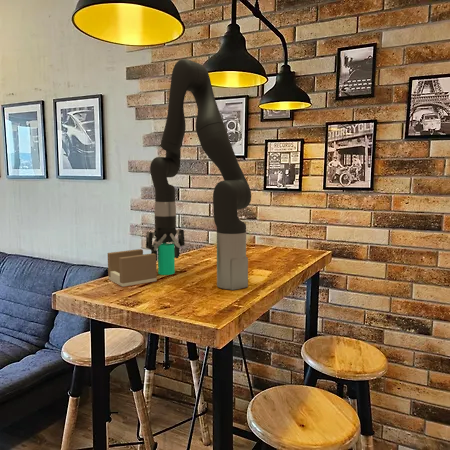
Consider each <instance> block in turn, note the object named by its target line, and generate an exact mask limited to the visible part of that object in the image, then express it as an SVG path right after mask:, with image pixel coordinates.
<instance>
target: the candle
mask: <svg viewBox="0 0 450 450" xmlns="http://www.w3.org/2000/svg"><path fill="white" fill-rule="evenodd" d="M174 247H175V246H174V244H173V243H171V242H170V243H168V242H166V243H161V245H160V246H159V247H158V248H157V275H161V276H169V275H174V274H176V273H175V272H176V270H175V263H176V262H175V259H176V258H175V257H174Z"/></svg>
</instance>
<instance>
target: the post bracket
mask: <svg viewBox="0 0 450 450" xmlns="http://www.w3.org/2000/svg"><path fill="white" fill-rule="evenodd" d="M107 272H108V273H107V275H108V280H109V281H111V282H113V283H115V284H117V285H119V286H120V287H128V286H135V285H139V284H141V285H142V284H147V283H152V282H157V281H158V280H157V279H158V278H157V275H158V268H157V261H156V254H154V253H152V254H151V253H146V254H144V250H143V249H141V248H138V249H132V250H131V249H129V250H121V251H113V252H112V251H111V252H107Z"/></svg>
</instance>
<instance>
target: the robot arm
mask: <svg viewBox="0 0 450 450" xmlns="http://www.w3.org/2000/svg"><path fill="white" fill-rule="evenodd" d="M187 91H188V92H190V93H191V94H192V96H193V99H194V101H195V104H196V107H197V114H196V119H195V132H196V135H197V138H198V141H199V143H200V145H201V146H200V147H201V148H202V150H203V152H204V154H205V155H207V157H208V158H209V159H210V161H211V162H212V163H213V164H214V165H215V166H216V167H217V169H218V171H220V174H221V176H222V178H223V180H221V181H219V182H217V183H216V185H215V186H214V189H213V193H212V206H213V207H212V208H213V221H214V224H215V227H216V286H217V288H220V289H225V290H231V291H235V290H239V289H244V288H248V287H249V258H248V256H247V224H246V222H244V221H242V220H241V219H240V218H239V215H238V210H244V209H246V208H248V207H249V205H250V204H251V201H252V191H251V188H250V185H249V183H248V181H247V178H246V177H245V174H244V173H243V170H242V168H241V167H240V164H239V162H238V159H237V157H236V154H235V151H234V148H233V146H232V143H231V141H230V137H229V133H228V131H227V129H226V126H225V123H224V120H223V118H222V115H221V112H220V109H219V107H218V103H217V100H216V97H215V93H214V90H213V86H212V81H211V77H210V74H209V72H208V70H207V67H206V66H204V65H203V64H201V63H198V62H196V61H193V60H191V59H188V58H181V59H179V60H177V62H176V63H174V65H173V68H172V72H171V77H170V86H169V95H168V107H167V115H166V122H165V126H164V129H163V133H162V137H161V141H160V147H161V149H162V150H163V151H165V156H156V157H154V158H153V159H152V161H151V163H150V167H149V171H150V172H149V173H150V178H151V180H152V184H153V188H154V231H146V233H145V234H146V235H145V236H146V237H145V248H146V249H148V250H150V251H151V252H150V254H152V253H154V254H156V262H158V247H159V246H160V245H161V243H168V244H171V243H173V244H174V257H175V259H179V257H180V255H181V254H180V249H181V247H182V246H185V243H186V241H185V231H184V229H182V228H178V229H177V206H176V188H175V186H174V185H173V184H170V183H169V181H168V178H174V177H175V176H177V174H178V173H179V172H180V169H181V158H182V157H181V156H182V155H181V154H182V153H181V147H182V146H183V142H184V137H185V135H186V134H185V133H186V117H185V110H184V109H185V108H184V107H185V106H184V102H185V96H186V94H187ZM176 236H177V238H176ZM154 237H155V239H154ZM153 239H154V241H153Z"/></svg>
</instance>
